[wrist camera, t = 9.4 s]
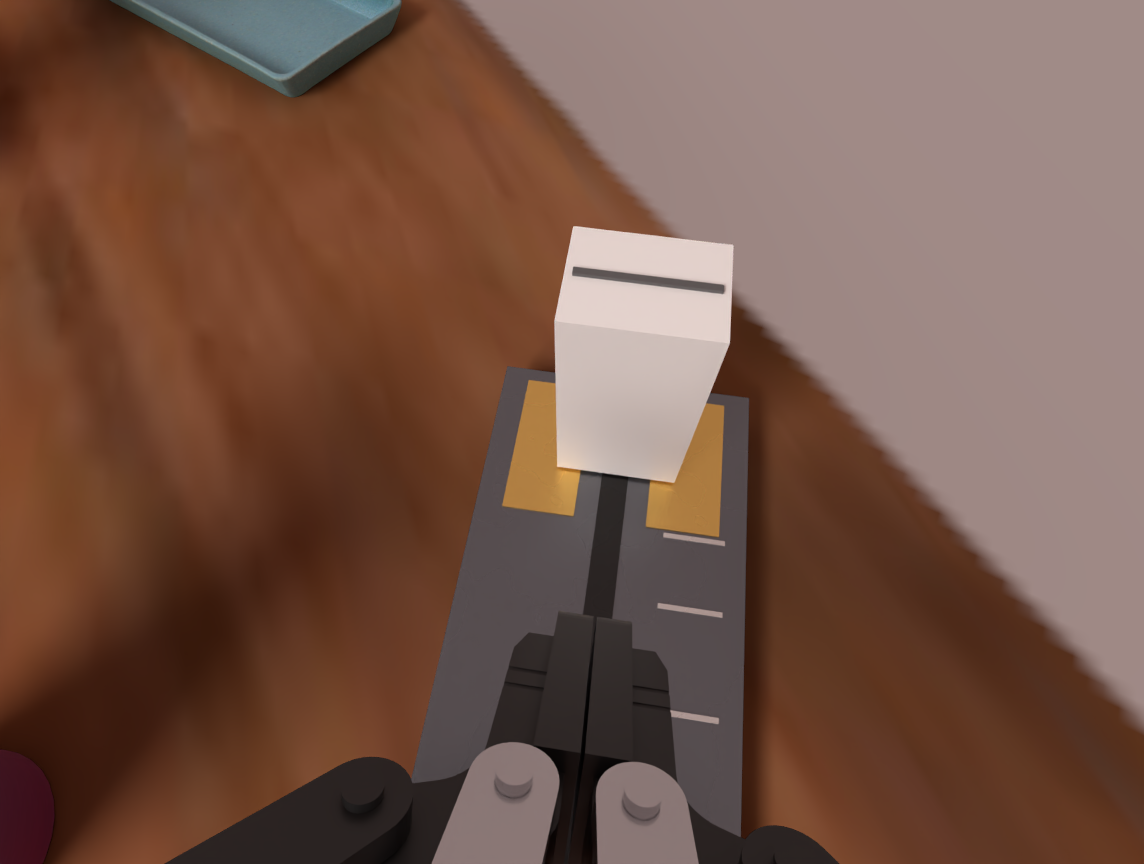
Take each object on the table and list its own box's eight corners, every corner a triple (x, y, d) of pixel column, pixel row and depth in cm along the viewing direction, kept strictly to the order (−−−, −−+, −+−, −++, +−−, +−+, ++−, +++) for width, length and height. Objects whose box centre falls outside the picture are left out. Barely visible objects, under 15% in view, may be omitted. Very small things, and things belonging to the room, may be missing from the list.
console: (723, 970, 17) (750, 1006, 14) (392, 910, 17) (364, 935, 15) (738, 399, 25) (758, 359, 22) (515, 370, 25) (509, 327, 23)
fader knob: (674, 482, 21) (730, 340, 14) (557, 466, 22) (554, 318, 14) (680, 406, 23) (734, 242, 16) (570, 392, 23) (573, 223, 16)
